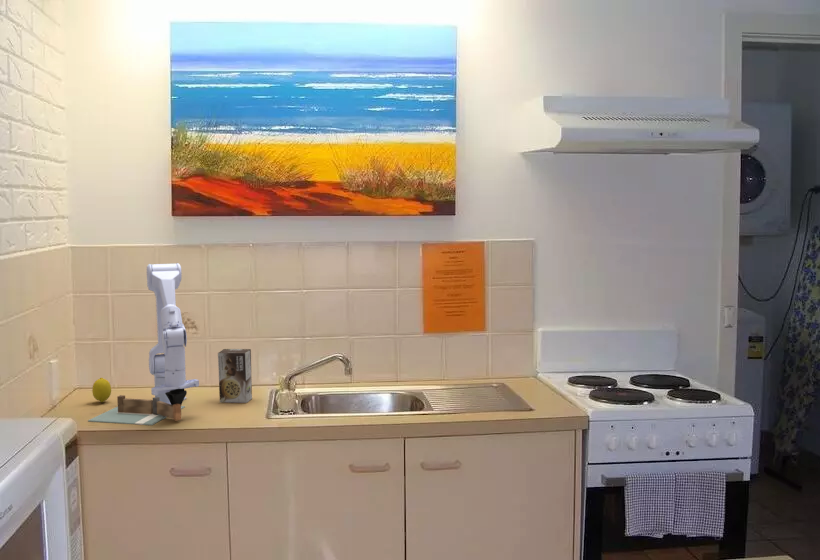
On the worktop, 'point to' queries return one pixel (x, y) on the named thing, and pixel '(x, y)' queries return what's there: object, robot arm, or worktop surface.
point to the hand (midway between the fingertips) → (176, 414)
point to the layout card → (128, 417)
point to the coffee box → (235, 375)
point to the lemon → (101, 390)
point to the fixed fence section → (137, 405)
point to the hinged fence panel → (169, 410)
